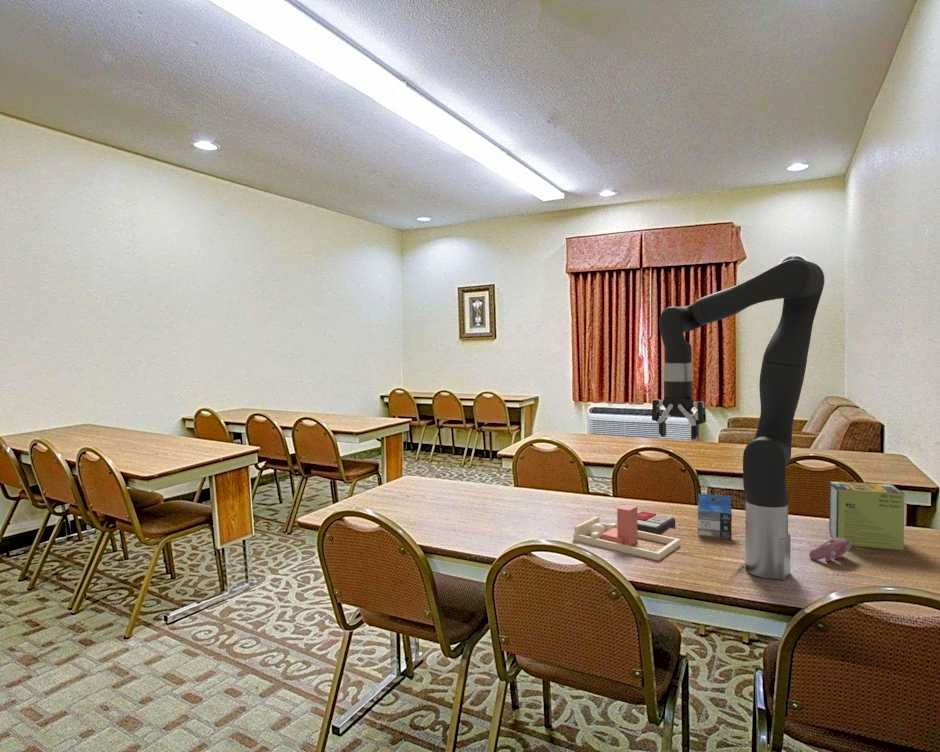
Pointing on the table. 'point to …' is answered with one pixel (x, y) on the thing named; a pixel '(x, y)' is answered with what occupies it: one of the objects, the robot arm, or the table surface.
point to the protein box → (867, 514)
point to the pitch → (585, 530)
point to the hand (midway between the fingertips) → (678, 437)
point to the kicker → (624, 527)
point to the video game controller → (831, 549)
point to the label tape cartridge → (715, 516)
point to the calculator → (654, 522)
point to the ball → (598, 528)
